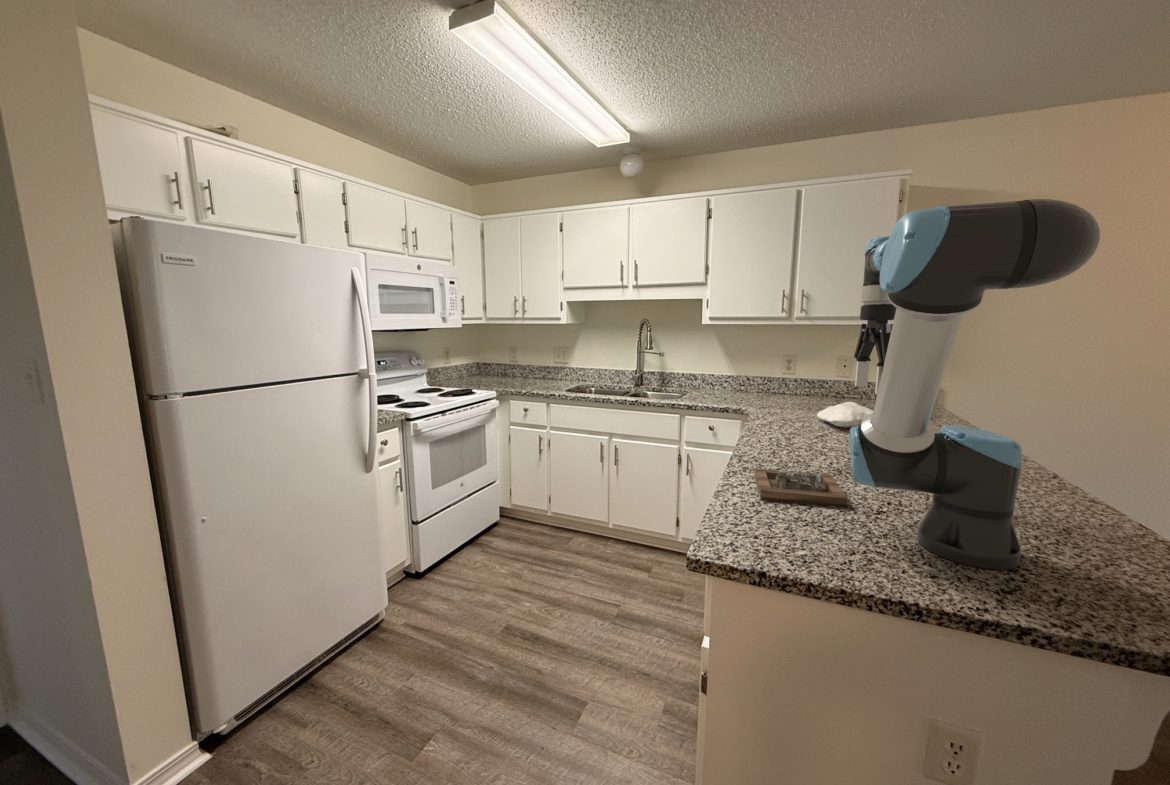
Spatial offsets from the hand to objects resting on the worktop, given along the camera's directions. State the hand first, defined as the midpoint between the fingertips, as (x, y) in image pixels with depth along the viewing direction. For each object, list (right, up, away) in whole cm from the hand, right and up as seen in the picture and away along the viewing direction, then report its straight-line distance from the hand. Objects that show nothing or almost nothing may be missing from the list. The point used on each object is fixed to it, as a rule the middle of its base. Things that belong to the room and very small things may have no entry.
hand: (870, 389), depth 114 cm
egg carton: (-17, -26, +3) cm, 31 cm away
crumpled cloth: (+38, -15, +76) cm, 86 cm away
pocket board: (-17, -26, +3) cm, 31 cm away
